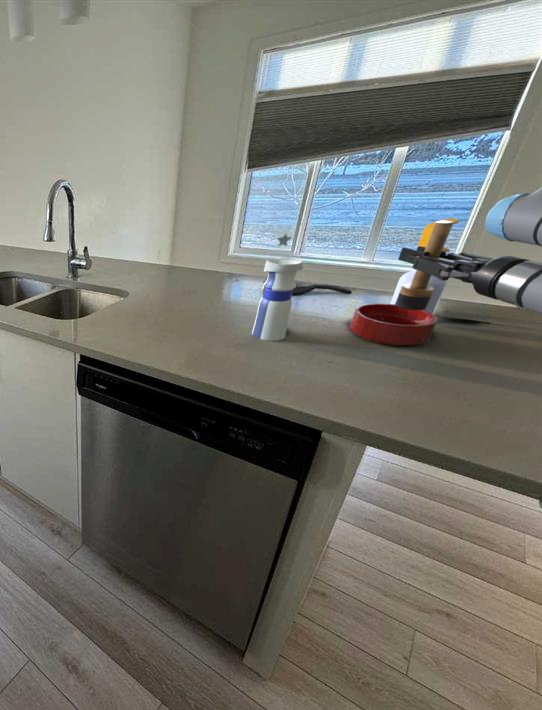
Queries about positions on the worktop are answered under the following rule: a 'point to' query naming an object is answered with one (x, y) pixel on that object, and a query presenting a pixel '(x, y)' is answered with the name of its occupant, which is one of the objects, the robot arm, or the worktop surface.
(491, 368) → the worktop surface
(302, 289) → the hairbrush
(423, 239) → the soap bottle
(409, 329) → the red bowl
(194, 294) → the worktop surface
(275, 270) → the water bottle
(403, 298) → the dish brush
